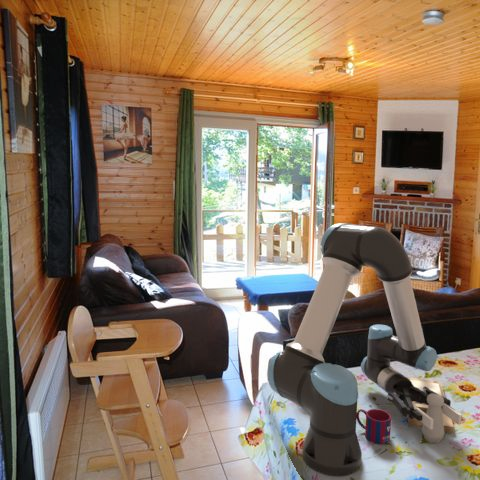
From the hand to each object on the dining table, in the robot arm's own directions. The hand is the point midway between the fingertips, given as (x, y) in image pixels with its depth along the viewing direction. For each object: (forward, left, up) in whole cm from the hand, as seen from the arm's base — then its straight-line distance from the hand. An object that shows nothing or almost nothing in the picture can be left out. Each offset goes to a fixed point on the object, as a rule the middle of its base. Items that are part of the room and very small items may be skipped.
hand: (446, 422), depth 119 cm
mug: (-19, +1, -8) cm, 20 cm away
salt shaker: (-3, +4, -8) cm, 9 cm away
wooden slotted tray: (-3, +23, -8) cm, 24 cm away
